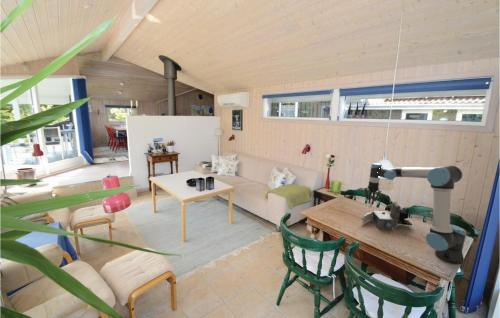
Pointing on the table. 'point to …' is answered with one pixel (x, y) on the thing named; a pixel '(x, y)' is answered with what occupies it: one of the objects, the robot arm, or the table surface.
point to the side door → (367, 217)
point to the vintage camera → (399, 215)
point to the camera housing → (382, 219)
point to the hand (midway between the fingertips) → (370, 207)
